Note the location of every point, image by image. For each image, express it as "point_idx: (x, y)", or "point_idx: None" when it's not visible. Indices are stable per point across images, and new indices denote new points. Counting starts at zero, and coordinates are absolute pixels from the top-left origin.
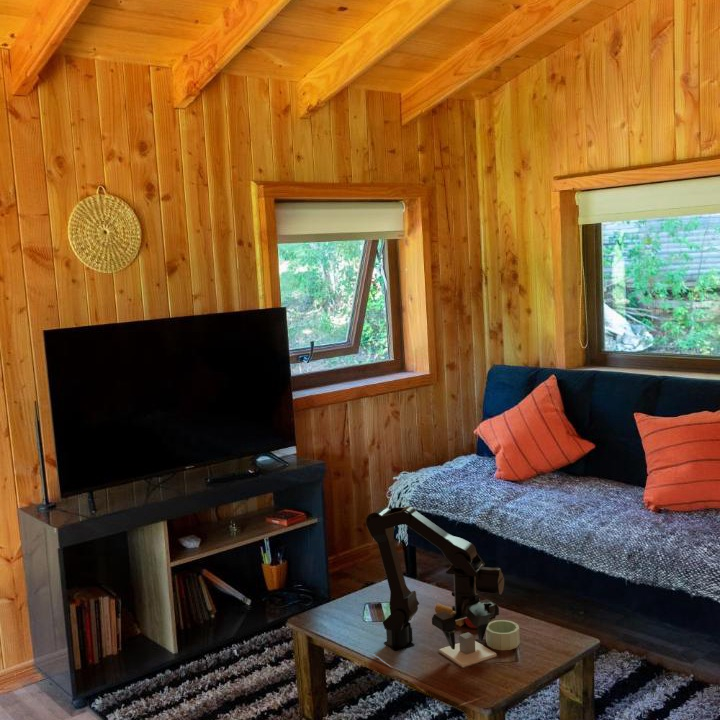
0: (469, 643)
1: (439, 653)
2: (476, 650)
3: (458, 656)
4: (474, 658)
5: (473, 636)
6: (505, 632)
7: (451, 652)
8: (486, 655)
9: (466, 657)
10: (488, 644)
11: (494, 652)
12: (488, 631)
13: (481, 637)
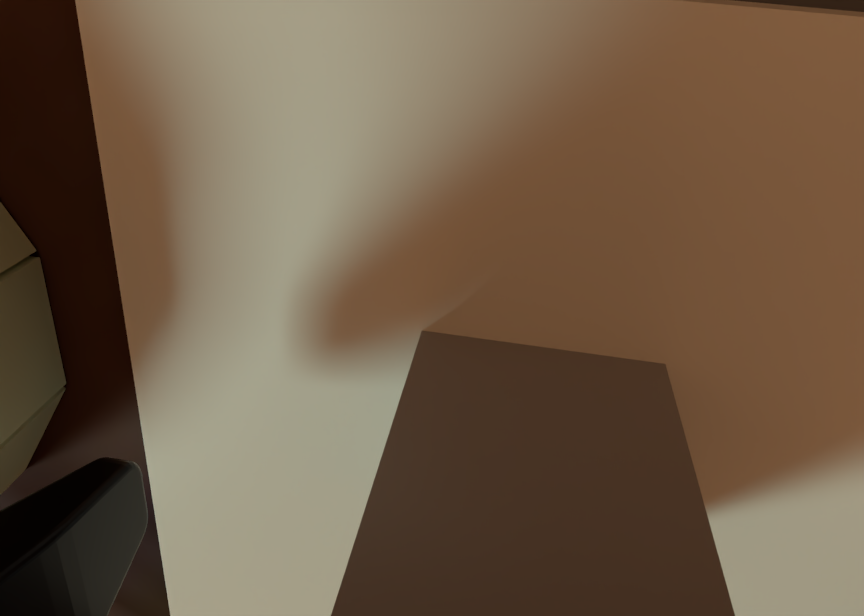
0: (571, 520)
1: None
2: (365, 352)
3: (850, 416)
4: (689, 102)
5: None
6: None
7: (790, 590)
8: (336, 25)
9: (772, 275)
10: (25, 384)
11: (82, 18)
12: None
13: (80, 518)
